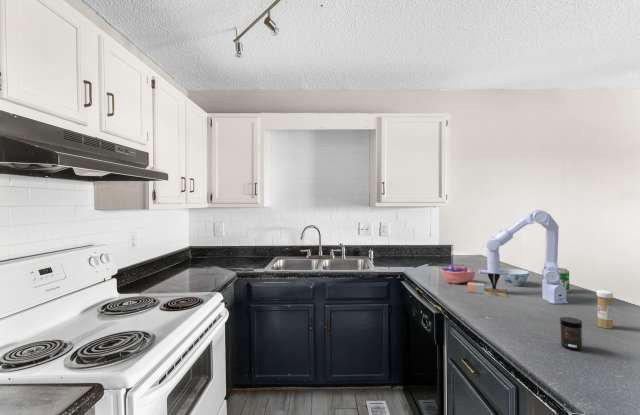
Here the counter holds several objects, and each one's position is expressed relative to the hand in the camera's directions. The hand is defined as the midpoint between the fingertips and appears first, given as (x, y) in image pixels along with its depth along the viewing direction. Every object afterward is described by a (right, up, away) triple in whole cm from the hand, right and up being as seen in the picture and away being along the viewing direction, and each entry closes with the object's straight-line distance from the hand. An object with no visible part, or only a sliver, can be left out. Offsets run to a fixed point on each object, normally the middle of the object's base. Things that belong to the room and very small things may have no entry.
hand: (494, 288), depth 165 cm
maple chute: (-3, -3, +2) cm, 5 cm away
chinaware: (+22, -3, +19) cm, 29 cm away
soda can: (+37, -2, +2) cm, 37 cm away
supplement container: (-8, -4, -61) cm, 62 cm away
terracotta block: (-9, -3, +5) cm, 11 cm away
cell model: (-8, -4, +25) cm, 26 cm away
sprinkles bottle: (+17, -3, -45) cm, 48 cm away
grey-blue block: (-6, -3, +3) cm, 7 cm away
